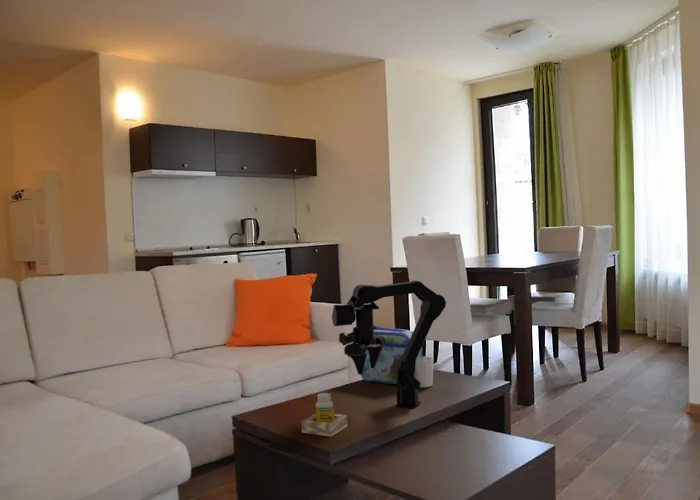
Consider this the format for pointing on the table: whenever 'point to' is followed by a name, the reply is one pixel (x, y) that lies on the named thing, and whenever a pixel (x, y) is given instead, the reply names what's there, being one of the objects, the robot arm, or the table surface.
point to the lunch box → (387, 354)
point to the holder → (324, 425)
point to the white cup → (424, 372)
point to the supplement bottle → (324, 408)
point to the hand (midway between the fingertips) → (366, 371)
